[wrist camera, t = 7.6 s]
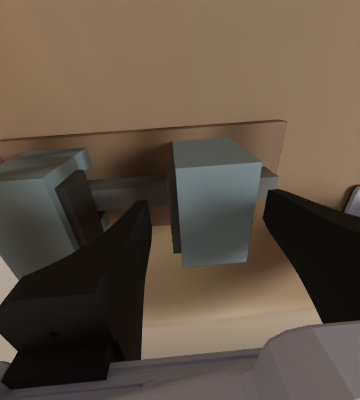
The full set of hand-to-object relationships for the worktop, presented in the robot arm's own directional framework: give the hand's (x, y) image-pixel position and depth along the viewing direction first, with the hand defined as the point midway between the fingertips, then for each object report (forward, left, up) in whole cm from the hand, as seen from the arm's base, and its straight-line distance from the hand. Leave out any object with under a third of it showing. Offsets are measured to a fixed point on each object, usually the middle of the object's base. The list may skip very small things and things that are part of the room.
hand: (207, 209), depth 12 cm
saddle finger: (0, 0, -4) cm, 4 cm away
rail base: (+4, 0, -5) cm, 6 cm away
